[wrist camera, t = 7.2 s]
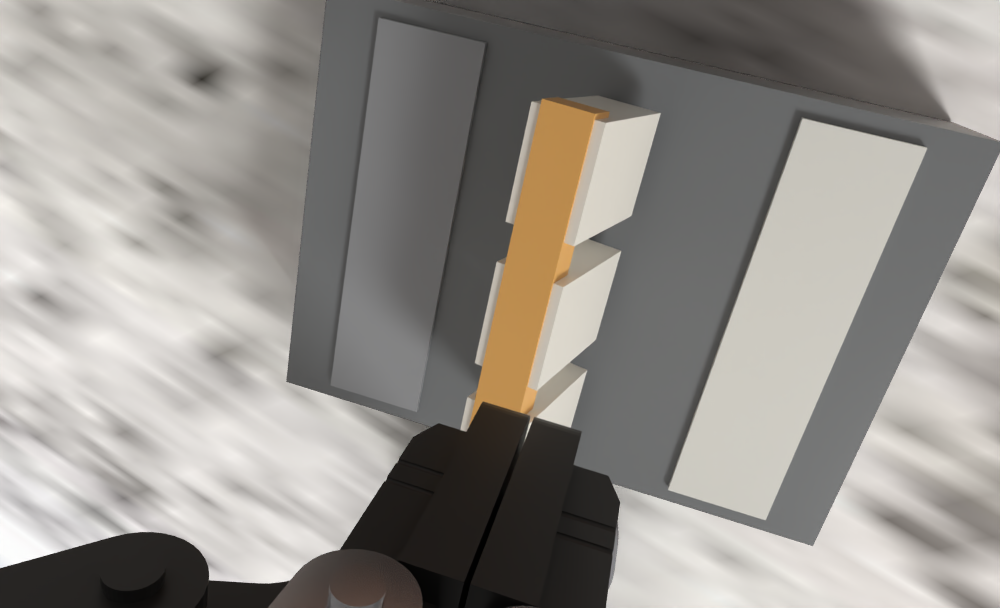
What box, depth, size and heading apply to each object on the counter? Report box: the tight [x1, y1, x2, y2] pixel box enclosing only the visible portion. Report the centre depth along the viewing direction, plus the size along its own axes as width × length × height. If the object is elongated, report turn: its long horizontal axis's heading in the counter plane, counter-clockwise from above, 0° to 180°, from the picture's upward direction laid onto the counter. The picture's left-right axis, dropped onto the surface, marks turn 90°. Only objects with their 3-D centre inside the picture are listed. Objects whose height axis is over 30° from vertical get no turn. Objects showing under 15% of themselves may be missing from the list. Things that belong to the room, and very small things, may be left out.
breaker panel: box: [286, 0, 1000, 546], centre depth 19 cm, size 14×10×3 cm
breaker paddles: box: [460, 95, 661, 439], centre depth 16 cm, size 1×8×3 cm, turn 169°
